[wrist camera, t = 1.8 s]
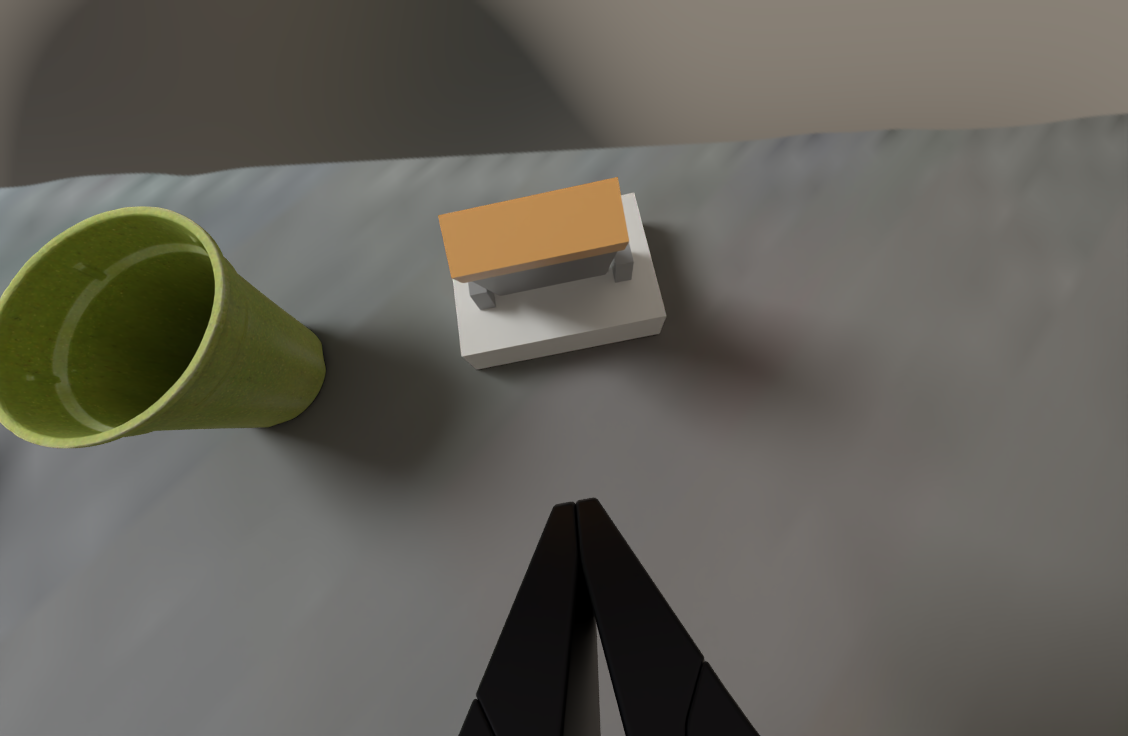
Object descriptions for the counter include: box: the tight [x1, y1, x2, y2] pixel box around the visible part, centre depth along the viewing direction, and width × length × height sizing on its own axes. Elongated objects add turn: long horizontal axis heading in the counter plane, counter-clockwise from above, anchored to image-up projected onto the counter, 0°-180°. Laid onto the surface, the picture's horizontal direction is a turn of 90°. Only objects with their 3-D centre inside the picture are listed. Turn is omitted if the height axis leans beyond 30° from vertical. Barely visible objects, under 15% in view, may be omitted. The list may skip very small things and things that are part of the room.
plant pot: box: [0, 207, 326, 448], centre depth 19 cm, size 9×9×9 cm
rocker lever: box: [438, 177, 629, 296], centre depth 16 cm, size 2×5×8 cm, turn 100°
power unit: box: [453, 193, 666, 370], centre depth 21 cm, size 7×10×4 cm
